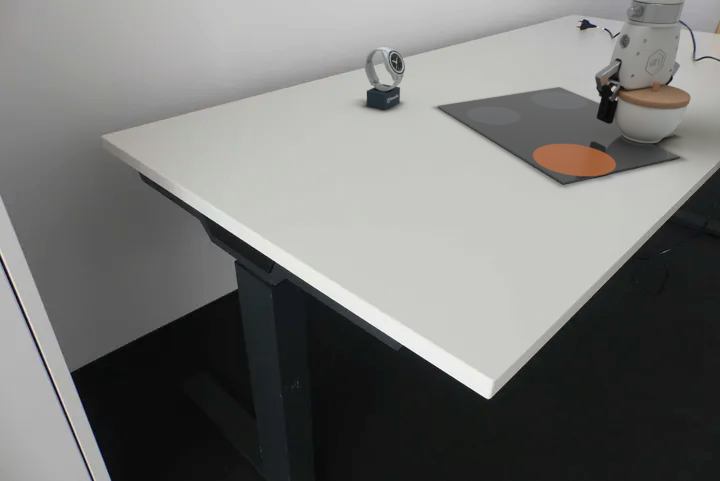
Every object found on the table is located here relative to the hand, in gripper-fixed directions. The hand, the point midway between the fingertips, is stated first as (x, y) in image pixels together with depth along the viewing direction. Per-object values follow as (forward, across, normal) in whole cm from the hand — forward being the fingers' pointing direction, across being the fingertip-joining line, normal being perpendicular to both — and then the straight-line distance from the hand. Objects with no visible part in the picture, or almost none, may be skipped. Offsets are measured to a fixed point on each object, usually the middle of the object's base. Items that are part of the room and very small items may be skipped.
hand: (625, 117), depth 94 cm
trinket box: (+2, 0, -4) cm, 5 cm away
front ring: (+2, -17, -7) cm, 18 cm away
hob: (+2, -9, +5) cm, 11 cm away
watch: (+3, -33, +30) cm, 45 cm away
